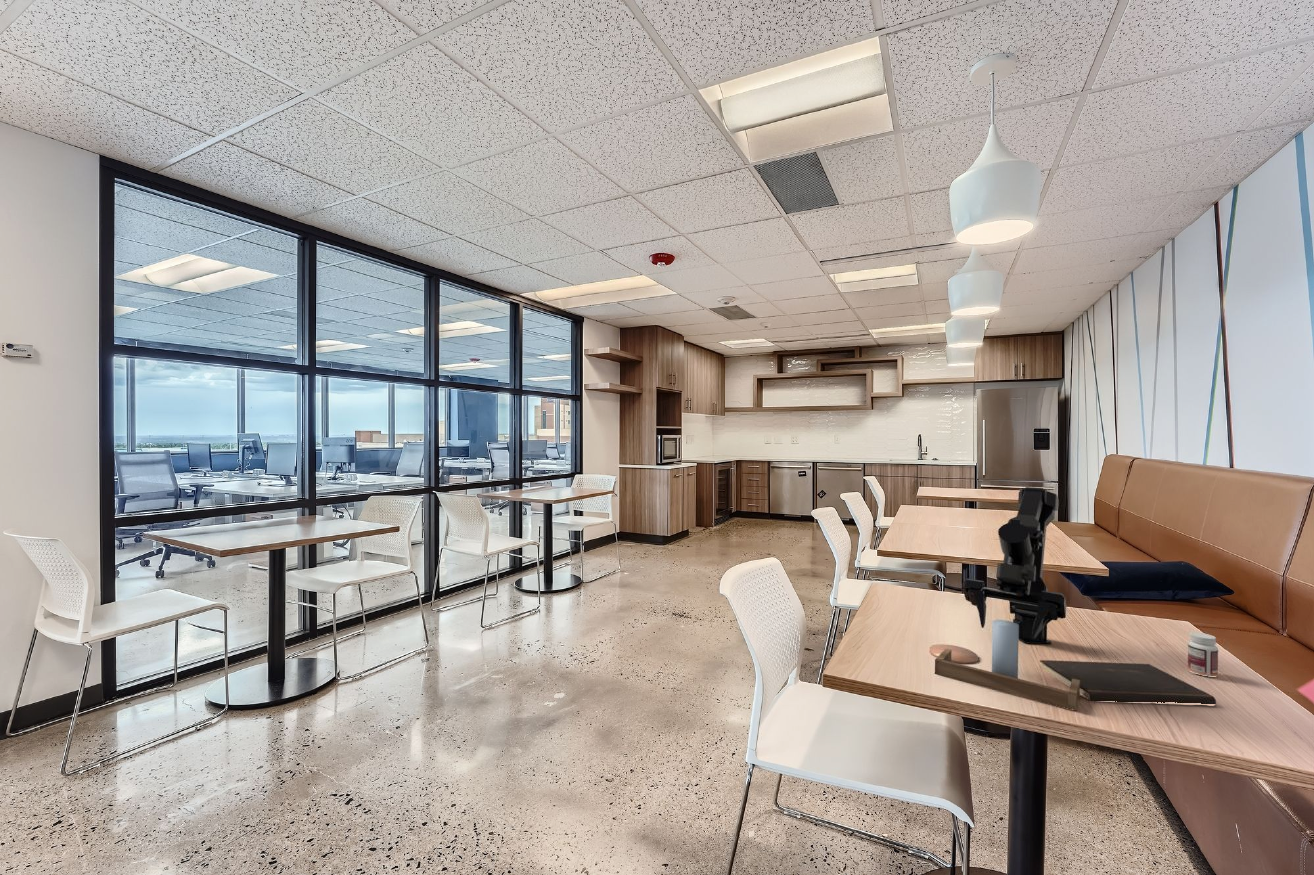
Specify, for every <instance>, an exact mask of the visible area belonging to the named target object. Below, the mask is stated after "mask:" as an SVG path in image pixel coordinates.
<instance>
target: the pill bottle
mask: <svg viewBox="0 0 1314 875" xmlns="http://www.w3.org/2000/svg"><path fill="white" fill-rule="evenodd" d="M1189 637H1190V641H1188V642H1187V670H1188V672H1190V671H1192V672H1194V673H1198V674H1200V675H1207V676H1217V677H1218V675H1219V673H1218V672H1219V648H1218V646H1216V645H1217V637H1215V636H1214V635H1211V634H1209V633H1204V632H1190V636H1189Z"/></svg>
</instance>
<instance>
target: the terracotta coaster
mask: <svg viewBox="0 0 1314 875" xmlns="http://www.w3.org/2000/svg"><path fill="white" fill-rule="evenodd" d="M945 649H950V650H952V652H951V662H954V663H958V664H962V665H966V664H974V663H977V661H978V660H979V658H978V655H977V653H975V652H974V651H973V650H971V649H968V648H965V647H962V646H959V645H952V644H943V643H942V644H939V643H938V644H934V645H933V644H932V645H931V646H929V650H928V651H929V654H931V656H933V657H934V658H937V657H938V656H939V655H940V654H941V653H942V652H943V651H944V650H945Z"/></svg>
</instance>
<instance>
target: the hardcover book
mask: <svg viewBox="0 0 1314 875" xmlns="http://www.w3.org/2000/svg"><path fill="white" fill-rule="evenodd" d="M1039 662H1040V663H1041V669H1042V670H1044V671H1045V672H1046V673H1048V674H1049V673H1050V674H1049V675H1051V676H1053V677H1054V678H1055V679H1057V680H1059V681H1060V682H1061V681H1062V683H1063V684H1065V685H1066V686H1067V687H1069V688H1070V685H1071V682H1072V679H1077V680H1080V695H1081V694H1082V695H1083V697H1084V696H1085V697H1086V698H1085V697H1084V698H1085V699H1087V698H1088V699H1089V700H1088V699H1087V700H1088V701H1089V702H1090V701H1115V702H1116V701H1117V702H1157V703H1158V702H1161V703H1162V702H1163V703H1165V702H1175V703H1176V702H1177V703H1201V704H1216V705H1217V700H1216V698H1215V696H1213V695H1211V694H1210V693H1208V692H1205V691H1204V690H1201V689H1199V688H1197V687H1196V686H1194V685H1191V684H1189V683H1187V682H1185V681H1184V680H1182V679H1179V678H1177V677H1175V676H1174V675H1171V674H1170V673H1168V672H1166V671H1163V670H1162V669H1160V668H1158V667H1155V666H1153V665H1151V664H1149V663H1131V662H1130V663H1129V662H1124V663H1123V662H1103V661H1102V662H1101V661H1076V660H1053V659H1051V660H1049V659H1045V660H1044V659H1039ZM1082 695H1081V696H1082Z"/></svg>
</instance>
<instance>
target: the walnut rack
mask: <svg viewBox="0 0 1314 875" xmlns="http://www.w3.org/2000/svg"><path fill="white" fill-rule="evenodd" d="M951 652H952V650H950V649H945V650H944V651H943V652H942V653H941V654H940V655H939V656H938V657H935V658H934V674H935V675H939V676H940V677H941V676H942V677H947V678H950V679H953V680H956V681H961V682H963V683H969V684H971V685H976V686H979V687H982V688H983V687H984V688H987V689H990V690H994V691H997V692H1002V693H1005V694H1009V695H1012V696H1013V695H1014V696H1017V697H1021V698H1024V699H1028V700H1031V701H1035V700H1037V701H1036V702H1038V703H1043V702H1044V704H1046V703H1049V704H1048V705H1050V704H1052V705H1051V706H1054V705H1057V706H1056V707H1058V706H1060V707H1059V708H1061V707H1065V708H1068V709H1067V710H1069V709H1073V710H1076V711H1077V708H1076V707H1078V703H1079V700H1080V695H1081V694H1080V680H1077V679H1072V682H1071V685H1070V687H1069V689H1068V690H1066V689H1061V688H1058V687H1053V686H1050V685H1045V684H1041V683H1038V682H1034V681H1029V680H1025V679H1021V678H1019V677H1018V678H1014V677H1010V676H1006V675H1002V674H998V673H994V672H992V671H989V670H986V669H981V668H977V667H973V666H969V665H966V664H962V663H954V662H951ZM1065 708H1064V709H1065Z"/></svg>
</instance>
